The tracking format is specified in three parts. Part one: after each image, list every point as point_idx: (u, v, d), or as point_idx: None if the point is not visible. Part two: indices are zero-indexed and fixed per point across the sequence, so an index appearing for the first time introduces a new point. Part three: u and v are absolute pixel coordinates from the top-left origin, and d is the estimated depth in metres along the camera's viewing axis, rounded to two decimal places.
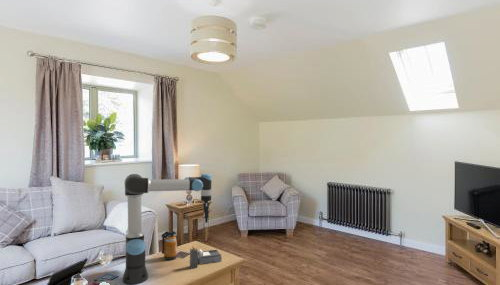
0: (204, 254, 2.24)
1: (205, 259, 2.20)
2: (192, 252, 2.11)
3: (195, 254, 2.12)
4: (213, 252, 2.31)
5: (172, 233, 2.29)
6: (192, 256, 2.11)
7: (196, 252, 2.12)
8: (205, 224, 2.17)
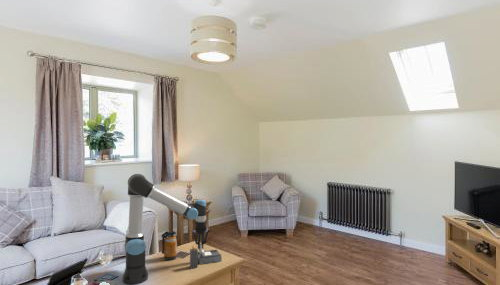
0: (205, 254, 2.25)
1: (205, 259, 2.20)
2: (192, 252, 2.11)
3: (195, 254, 2.12)
4: (213, 252, 2.31)
5: (172, 233, 2.29)
6: (192, 256, 2.11)
7: (196, 252, 2.12)
8: (199, 250, 2.25)
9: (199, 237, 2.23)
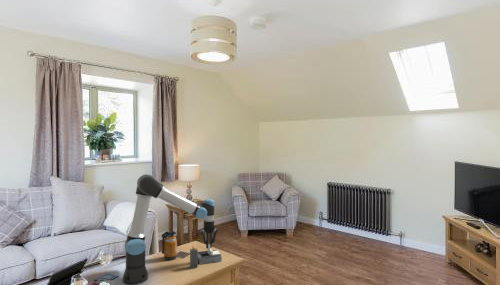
0: (214, 253, 2.27)
1: (205, 259, 2.20)
2: (192, 252, 2.11)
3: (195, 254, 2.12)
4: None
5: (172, 233, 2.29)
6: (192, 256, 2.11)
7: (196, 252, 2.12)
8: (207, 249, 2.27)
9: (207, 236, 2.25)
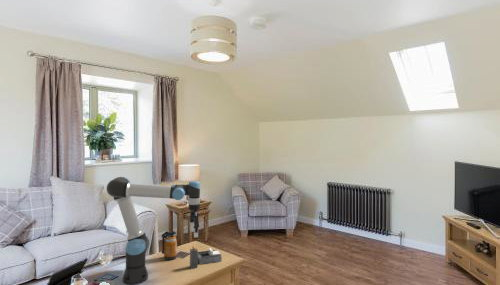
0: (214, 253, 2.27)
1: (205, 259, 2.20)
2: (192, 252, 2.11)
3: (195, 254, 2.12)
4: None
5: (172, 233, 2.29)
6: (192, 256, 2.11)
7: (196, 252, 2.12)
8: (195, 234, 2.07)
9: None
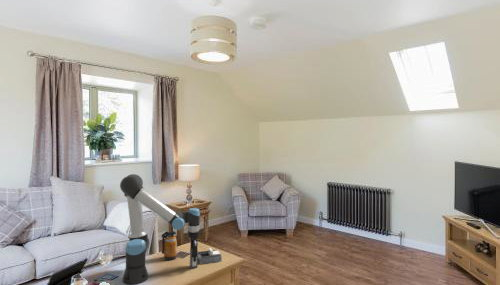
0: (214, 253, 2.27)
1: (205, 259, 2.20)
2: (192, 252, 2.11)
3: None
4: None
5: (172, 233, 2.29)
6: None
7: None
8: (193, 263, 2.11)
9: None
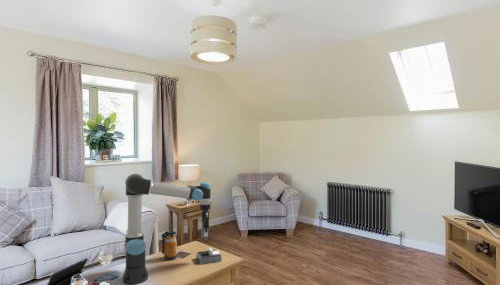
0: (214, 253, 2.27)
1: (205, 259, 2.20)
2: None
3: None
4: None
5: (172, 233, 2.29)
6: None
7: None
8: (205, 234, 2.23)
9: None
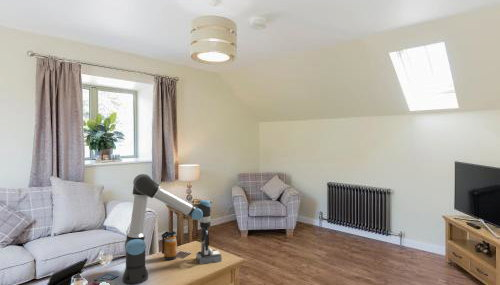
0: (214, 253, 2.27)
1: (205, 259, 2.20)
2: (203, 246, 2.24)
3: None
4: None
5: (172, 233, 2.29)
6: (203, 250, 2.24)
7: None
8: (205, 252, 2.21)
9: None
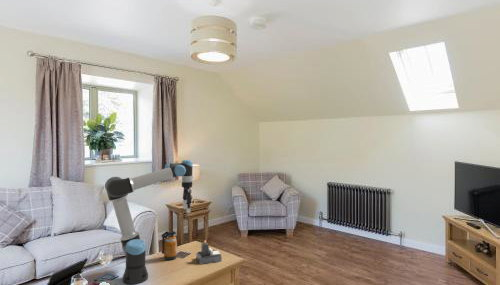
0: (214, 253, 2.27)
1: (205, 259, 2.20)
2: (203, 246, 2.23)
3: (206, 248, 2.24)
4: None
5: (172, 233, 2.29)
6: (203, 250, 2.23)
7: (207, 246, 2.24)
8: (187, 210, 2.17)
9: None
